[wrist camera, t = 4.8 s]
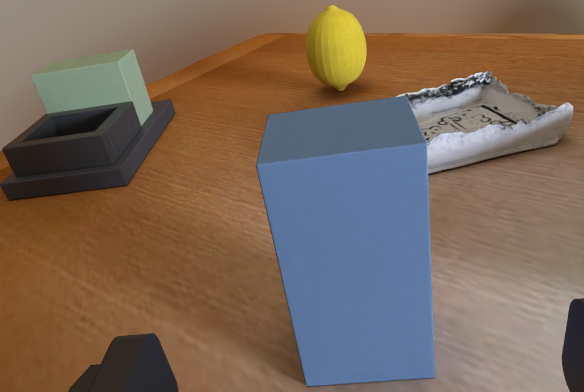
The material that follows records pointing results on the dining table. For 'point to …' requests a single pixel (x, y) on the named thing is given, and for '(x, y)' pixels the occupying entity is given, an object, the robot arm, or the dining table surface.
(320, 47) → the lemon
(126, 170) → the seat frame
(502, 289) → the dining table surface
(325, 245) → the blue rectangular block
